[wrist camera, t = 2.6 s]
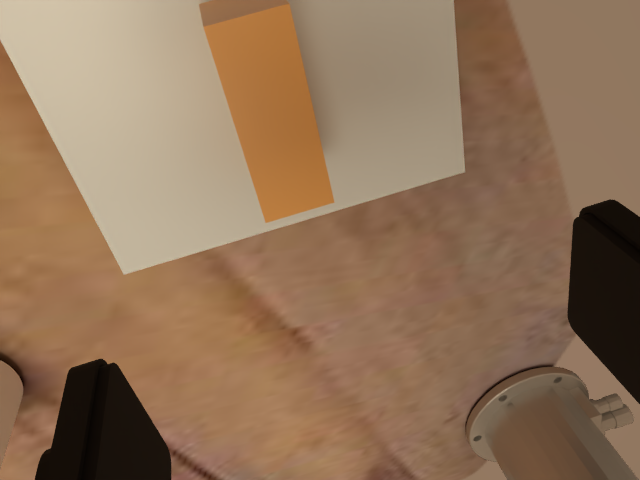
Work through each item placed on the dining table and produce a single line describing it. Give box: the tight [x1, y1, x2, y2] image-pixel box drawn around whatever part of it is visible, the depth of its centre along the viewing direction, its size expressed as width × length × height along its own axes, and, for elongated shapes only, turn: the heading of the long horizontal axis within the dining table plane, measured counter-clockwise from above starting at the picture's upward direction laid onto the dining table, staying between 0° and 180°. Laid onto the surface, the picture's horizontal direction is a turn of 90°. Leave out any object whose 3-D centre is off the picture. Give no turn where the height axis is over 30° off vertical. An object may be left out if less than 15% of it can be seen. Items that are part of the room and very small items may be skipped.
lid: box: [0, 0, 465, 274], centre depth 24 cm, size 18×14×6 cm
